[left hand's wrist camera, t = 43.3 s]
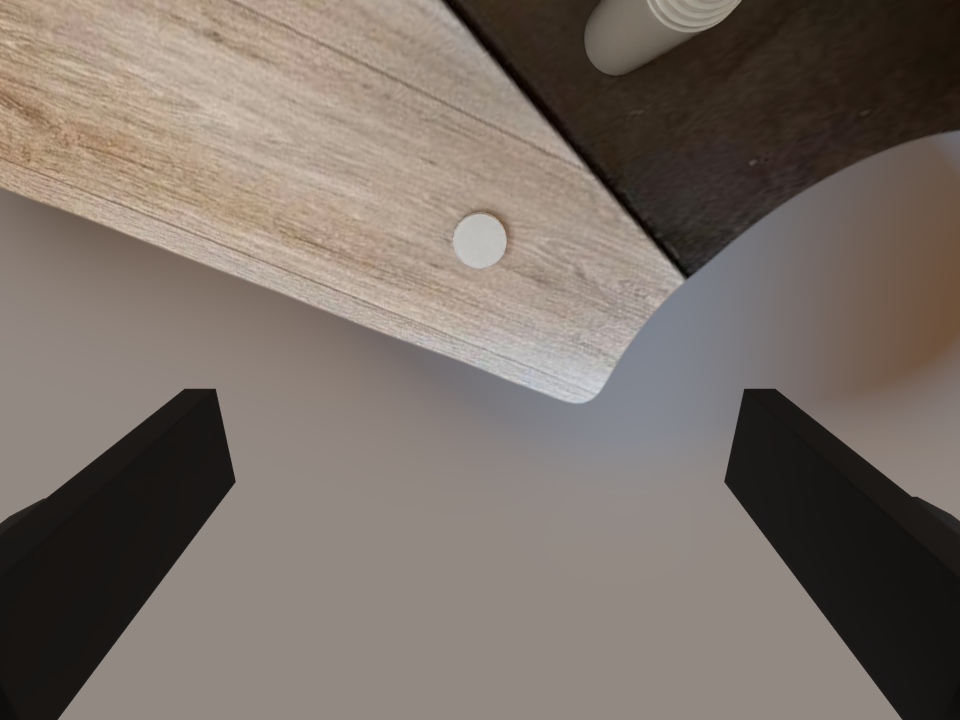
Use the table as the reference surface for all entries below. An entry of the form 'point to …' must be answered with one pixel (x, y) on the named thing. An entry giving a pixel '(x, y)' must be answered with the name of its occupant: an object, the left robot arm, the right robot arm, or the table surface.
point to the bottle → (646, 29)
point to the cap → (479, 240)
